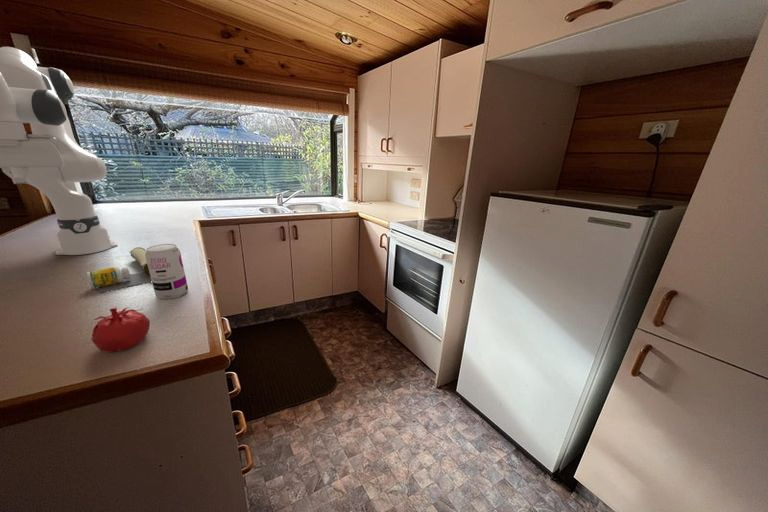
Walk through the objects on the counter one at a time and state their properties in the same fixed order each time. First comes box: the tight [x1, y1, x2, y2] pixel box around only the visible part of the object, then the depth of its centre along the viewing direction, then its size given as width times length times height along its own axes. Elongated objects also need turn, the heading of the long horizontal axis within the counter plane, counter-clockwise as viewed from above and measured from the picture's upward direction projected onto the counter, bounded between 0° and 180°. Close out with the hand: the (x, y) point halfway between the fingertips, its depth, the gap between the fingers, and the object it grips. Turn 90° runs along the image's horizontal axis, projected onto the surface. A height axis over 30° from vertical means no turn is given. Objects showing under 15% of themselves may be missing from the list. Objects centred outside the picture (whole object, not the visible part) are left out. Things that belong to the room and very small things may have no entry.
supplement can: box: [145, 243, 189, 300], centre depth 87 cm, size 8×8×15 cm
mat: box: [97, 271, 152, 294], centre depth 98 cm, size 11×18×1 cm, turn 135°
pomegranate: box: [91, 307, 151, 353], centre depth 66 cm, size 10×10×9 cm
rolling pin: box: [128, 247, 150, 276], centre depth 107 cm, size 32×6×5 cm, turn 47°
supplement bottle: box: [86, 266, 131, 290], centre depth 93 cm, size 5×5×10 cm
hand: (21, 183), depth 86 cm, fingers closed
